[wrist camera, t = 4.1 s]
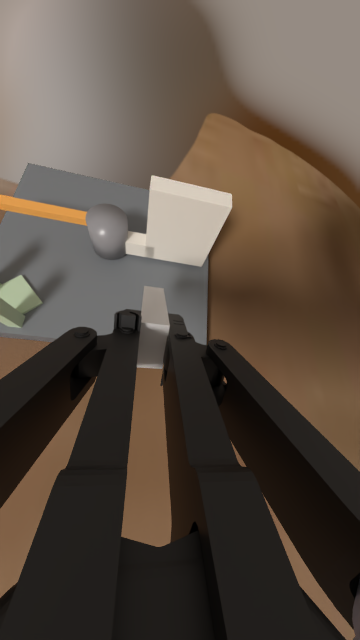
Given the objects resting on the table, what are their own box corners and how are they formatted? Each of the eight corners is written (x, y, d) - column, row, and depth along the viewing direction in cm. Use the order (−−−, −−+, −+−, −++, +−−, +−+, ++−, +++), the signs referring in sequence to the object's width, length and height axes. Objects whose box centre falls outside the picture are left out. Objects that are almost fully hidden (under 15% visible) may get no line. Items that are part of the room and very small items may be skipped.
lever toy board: (205, 214, 33) (225, 161, 26) (201, 357, 25) (228, 340, 18) (34, 177, 29) (1, 103, 22) (-31, 333, 22) (-117, 300, 14)
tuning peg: (202, 248, 28) (231, 184, 19) (201, 275, 26) (232, 218, 18) (12, 212, 24) (-52, 115, 16) (-1, 241, 23) (-78, 151, 14)
